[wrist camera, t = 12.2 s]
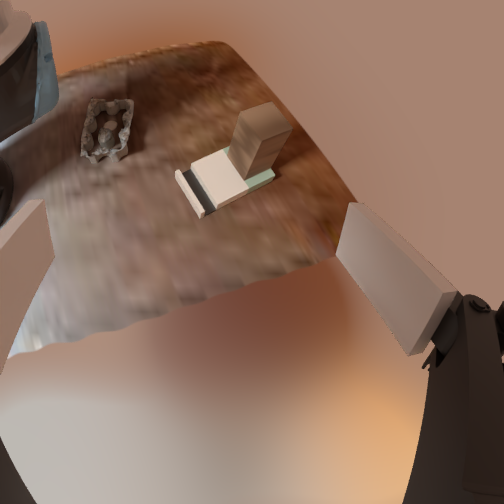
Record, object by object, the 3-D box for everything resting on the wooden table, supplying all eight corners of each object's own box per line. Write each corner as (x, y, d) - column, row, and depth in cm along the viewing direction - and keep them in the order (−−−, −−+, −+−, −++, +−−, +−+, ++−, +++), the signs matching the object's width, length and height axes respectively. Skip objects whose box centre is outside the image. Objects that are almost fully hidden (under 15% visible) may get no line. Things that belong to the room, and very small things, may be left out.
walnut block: (226, 155, 42) (240, 111, 33) (253, 144, 44) (271, 101, 34) (243, 181, 42) (261, 140, 33) (270, 168, 43) (293, 128, 34)
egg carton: (95, 110, 42) (90, 94, 38) (138, 109, 44) (136, 92, 40) (80, 165, 40) (73, 151, 36) (127, 165, 41) (123, 149, 37)
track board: (175, 178, 42) (175, 171, 40) (246, 145, 46) (248, 138, 44) (200, 218, 41) (201, 213, 40) (271, 181, 45) (275, 175, 43)
